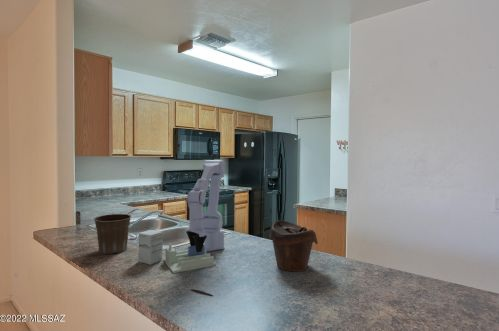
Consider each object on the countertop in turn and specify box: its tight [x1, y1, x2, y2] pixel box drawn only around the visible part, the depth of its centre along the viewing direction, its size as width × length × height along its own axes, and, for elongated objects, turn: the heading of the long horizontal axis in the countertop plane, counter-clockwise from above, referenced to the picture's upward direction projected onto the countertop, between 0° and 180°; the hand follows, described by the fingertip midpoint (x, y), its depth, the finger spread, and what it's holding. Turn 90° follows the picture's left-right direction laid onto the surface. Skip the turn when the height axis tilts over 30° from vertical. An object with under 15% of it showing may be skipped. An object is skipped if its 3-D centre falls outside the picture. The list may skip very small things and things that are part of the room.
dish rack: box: [162, 243, 217, 274], centre depth 124 cm, size 18×16×8 cm
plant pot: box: [93, 213, 132, 255], centre depth 139 cm, size 16×16×16 cm
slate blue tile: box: [187, 244, 205, 257], centre depth 125 cm, size 7×2×6 cm, turn 120°
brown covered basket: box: [269, 220, 318, 272], centre depth 121 cm, size 18×20×18 cm
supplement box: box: [137, 229, 164, 265], centre depth 125 cm, size 7×7×13 cm
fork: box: [173, 281, 214, 297], centre depth 98 cm, size 3×16×2 cm, turn 62°
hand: (196, 249), depth 125 cm, fingers open, 7 cm apart
